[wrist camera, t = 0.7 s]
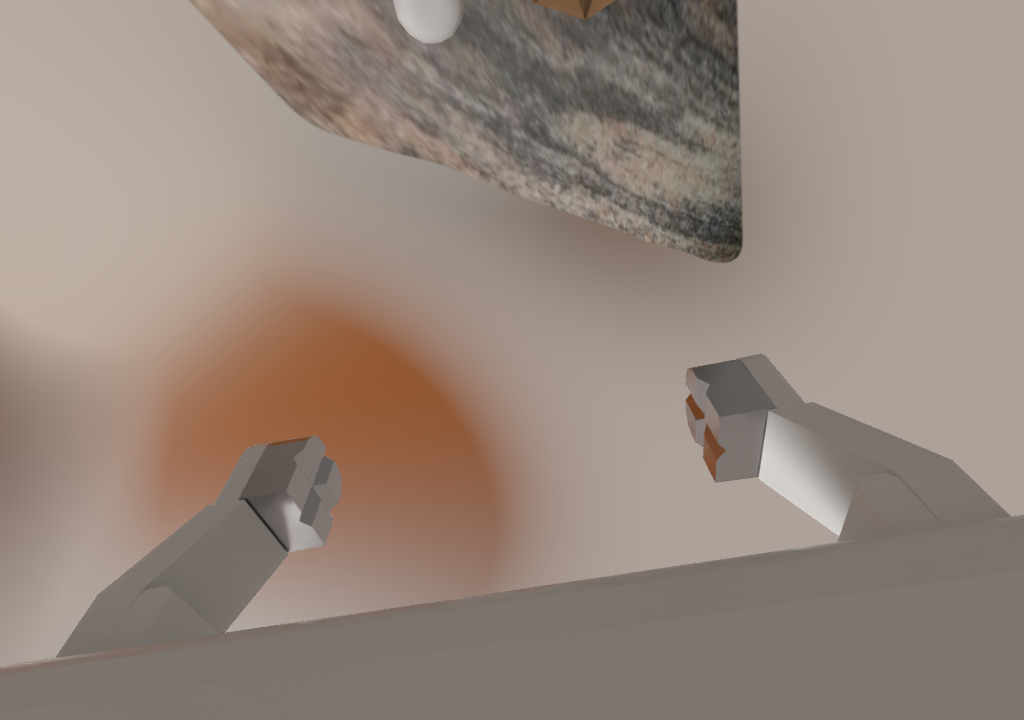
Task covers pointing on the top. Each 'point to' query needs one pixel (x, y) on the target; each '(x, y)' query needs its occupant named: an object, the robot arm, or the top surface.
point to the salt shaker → (430, 18)
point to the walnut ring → (575, 6)
